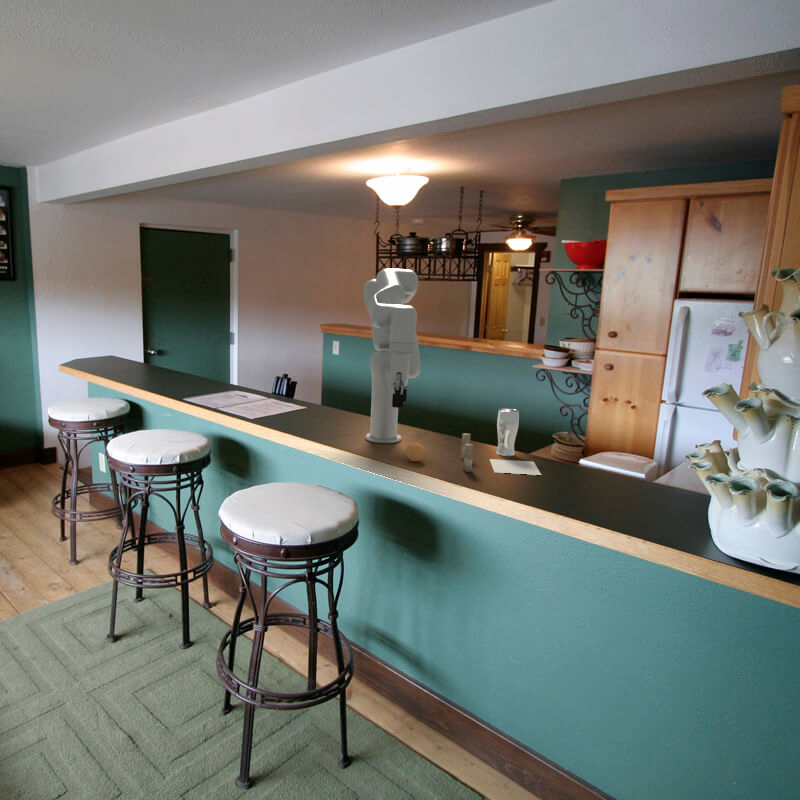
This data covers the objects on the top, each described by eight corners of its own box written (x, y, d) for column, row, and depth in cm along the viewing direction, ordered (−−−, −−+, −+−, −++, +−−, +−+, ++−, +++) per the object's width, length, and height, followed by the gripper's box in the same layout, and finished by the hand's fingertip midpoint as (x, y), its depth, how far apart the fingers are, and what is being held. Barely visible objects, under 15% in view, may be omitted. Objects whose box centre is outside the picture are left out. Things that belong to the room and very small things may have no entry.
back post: (460, 457, 184) (462, 433, 183) (468, 457, 184) (470, 433, 183) (461, 459, 182) (462, 435, 180) (469, 459, 182) (470, 435, 180)
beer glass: (500, 457, 186) (503, 412, 184) (491, 451, 193) (494, 408, 190) (519, 456, 188) (523, 412, 185) (510, 450, 195) (513, 408, 192)
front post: (462, 469, 171) (464, 443, 170) (471, 469, 171) (473, 444, 170) (463, 471, 169) (464, 445, 167) (471, 472, 169) (473, 446, 167)
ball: (405, 458, 180) (406, 439, 179) (424, 459, 180) (425, 440, 179) (404, 463, 174) (405, 444, 173) (424, 464, 174) (425, 445, 173)
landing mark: (489, 459, 183) (489, 459, 183) (533, 462, 182) (533, 461, 182) (494, 472, 169) (494, 472, 169) (541, 475, 169) (541, 475, 168)
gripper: (393, 344, 178) (390, 398, 182) (385, 350, 162) (383, 409, 165) (416, 346, 178) (413, 399, 181) (411, 351, 161) (408, 410, 164)
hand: (399, 404), depth 173 cm, fingers open, 9 cm apart
